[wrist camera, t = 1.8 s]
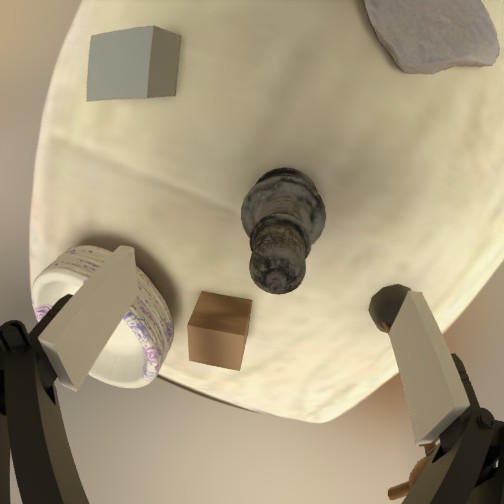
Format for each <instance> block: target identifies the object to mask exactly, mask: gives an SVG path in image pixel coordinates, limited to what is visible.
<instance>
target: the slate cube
mask: <svg viewBox="0 0 504 504" xmlns="http://www.w3.org/2000/svg"><path fill="white" fill-rule="evenodd" d="M180 42H181V36H178V35H176V34H173V33H171V32H168V31H166V30H163V29H161V28H158V27H156V26H147V27H139V28H132V29H125V30H119V31H113V32H108V33H102V34H97V35H93V36H91V42H90V51H89V63H88V77H87V101H98V100H112V99H132V98H153V97H165V96H175V94H176V82H177V70H178V60H179V51H180Z"/></svg>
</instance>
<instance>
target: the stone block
mask: <svg viewBox="0 0 504 504" xmlns="http://www.w3.org/2000/svg"><path fill="white" fill-rule="evenodd" d="M364 2H365V7H366V9H367V12H368V16H369V20H370V22H371V24H372V26H373V27H374V29H375V33H376V34H377V37H378V40H379V41H380V42H381V43H382V45H383V46H384V47H385V48H386V49H387V51H388V52H389V53H390V55H391V56H392V57H393V59H394V61H395V62H396V64H397V65H398V67H399V68H400V69H401V70H403V71H405V72H406V73H412V74H415V73H422V74H434V73H436V72H439V71H441V70H446V69H448V68H451V67H453V66H478V67H484V66H492V65H493V64H494V63H495V61H496V59H497V57H498V56H499V50H500V47H499V43H498V39H497V33H496V30H495V28H494V25H493V23H492V21H491V19H490V17H489V14H488V12H487V11H486V9H485V7H484V5H483V3H482V2H481V0H364Z"/></svg>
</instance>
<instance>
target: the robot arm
mask: <svg viewBox="0 0 504 504" xmlns="http://www.w3.org/2000/svg"><path fill="white" fill-rule="evenodd" d="M138 295H139V288H138V280H137V272H136V262H135V252H134V247H128V246H123V245H120V246H119V247H118V248H117V249H116V250H115V251H114V252H113V253H112V254H111V255H110V256H109V257H108V258H107V259H106V260H105V261H104V263H103V264H102V265H101V266H100V267H99V268H98V269H97V270H96V271H95V272H94V273H93V274H92V275H91V276H90V277H89V279H88V280H87V281H86V282H85V283H84V284H83V285H82V286H81V287H80V288H79V290H78V291H77V292H76V293H75V294H74V295H71V294H67V295H65V296H64V297H62V298H60V299H59V300H58V301H57V302H56V303H55V304H54V305H53V306H52V309H50V310H49V311H48V312H47V313H46V315H44V317H43V318H42V319H41V320H40V321H39V323H38V324H37V325H36V326H35V327H34V328H33V330H32V331H31V332H30V333H29V334H28V332H27V330H26V328H25V325H24V324H23V323H22V322H21V321H18V320H11V321H8V322H6V323H4V324H3V325H2V326H0V504H10V448H11V454H12V460H13V465H14V470H15V475H16V479H17V484H18V488H19V492H20V495H21V499H22V503H23V504H89V502H88V499H87V497H86V494H85V492H84V489H83V486H82V484H81V481H80V478H79V475H78V472H77V469H76V466H75V463H74V460H73V457H72V454H71V450H70V447H69V443H68V440H67V436H66V432H65V428H64V424H63V420H62V415H61V411H60V406H59V401H58V396H57V391H56V387H55V384H54V381H55V380H56V378H57V377H58V379H59V381H60V382H61V384H62V386H65V387H67V388H69V389H71V390H74V391H76V392H78V390H79V388H80V386H81V385H82V383H83V381H84V380H85V378H86V376H87V375H88V373H89V371H90V370H91V368H92V366H93V365H94V363H95V361H96V360H97V358H98V356H99V355H100V353H101V352H102V350H103V348H104V347H105V345H106V344H107V342H108V340H109V339H110V337H111V336H112V334H113V333H114V331H115V330H116V328H117V326H118V325H119V323H120V322H121V320H122V319H123V317H124V316H125V314H126V313H127V311H128V310H129V308H130V307H131V305H132V304H133V302H134V301H135V299H136V298H137V296H138ZM389 337H390V340H391V343H392V347H393V350H394V354H395V357H396V361H397V365H398V369H399V372H400V376H401V380H402V384H403V388H404V392H405V396H406V400H407V405H408V410H409V414H410V419H411V424H412V428H413V434H414V439H415V445H419V444H428V443H431V442H433V441H434V440H435V439H436V438H437V437H438V436H439V438H440V443H439V444H438V445H436V446H435V447H434V448H433V449H432V450H431V451H429V452H428V453H427V456H429V455H430V454H431V453H432V455H431V457H430V459H429V461H428V462H427V464H426V466H425V468H424V469H423V471H422V473H421V474H420V476H419V478H418V479H417V481H416V483H415V484H414V486H413V487H412V489H411V490H410V492H409V493H408V495H407V496H406V498H405V499H404V501H403V502H402V504H504V422H502V421H497V420H494V417H493V415H492V414H491V412H489V411H488V410H487V409H485V408H480V406H479V403H478V401H477V398H476V395H475V392H474V390H473V387H472V385H471V382H470V381H469V377H468V375H467V373H466V370H465V367H464V365H463V363H462V361H461V360H460V359H459V358H458V357H457V355H456V354H450V351H449V349H448V347H447V345H446V342H445V340H444V338H443V336H442V333H441V331H440V329H439V327H438V325H437V323H436V321H435V318H434V316H433V314H432V312H431V310H430V308H429V306H428V304H427V302H426V300H425V298H424V296H423V294H422V292H414V291H408V293H407V295H406V298H405V300H404V302H403V304H402V306H401V308H400V311H399V313H398V315H397V317H396V319H395V321H394V323H393V325H392V327H391V329H390V331H389ZM498 460H499V461H498ZM497 461H498V467H496V462H497Z"/></svg>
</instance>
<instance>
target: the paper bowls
mask: <svg viewBox="0 0 504 504" xmlns="http://www.w3.org/2000/svg"><path fill="white" fill-rule="evenodd" d="M112 253H113V252H111V251H109V250H107V249H104V248H100V247H97V246H92V245H79V246H76V247H72V248H70V249H68V250H67V251H65V252H64V253H63V254H61V255H60V256H59V257H58V258H57V259H56V260H55V261H54V262H53V263H51V264H50V265H49V266H48V267H47V268H45V269H44V270H43V271H42V273H41V274H39V276H37V277H36V279H35V281H34V283H33V287H32V304H33V309H34V312H35V315H36V317H37V320H38V321H40V320H41V319H42V318H43V317H44V315H46V313H47V312H48V311H49V310H50V309H52V306H53V305H54V304H55V303H56V302H57V301H58V300H59V299H60V298H62V297H64V296H65V295H67V294H71V295H74V294H75V293H76V292H77V291H78V290H79V288H80V287H81V286H82V285H83V284H84V283H85V282H86V281H87V280H88V279H89V277H90V276H91V275H92V274H93V273H94V272H95V271H96V270H97V269H98V268H99V267H100V266H101V265H102V264H103V263H104V261H105V260H106V259H107V258H108V257H109V256H110V255H111V254H112ZM136 272H137V280H138V288H139V295H138V296H137V298H136V299H135V301H134V302H133V304H132V305H131V307H130V308H129V310H128V311H127V313H126V314H125V316H124V317H123V319H122V320H121V322H120V323H119V325H118V326H117V328H116V330H115V331H114V333H113V334H112V336H111V337H110V339H109V340H108V342H107V344H106V345H105V347H104V348H103V350H102V352H101V353H100V355H99V356H98V358H97V360H96V361H95V363H94V365H93V366H92V368H91V370H90V371H89V373H88V374H89V375H90V376H92V377H94V378H96V379H98V380H100V381H103V382H105V383H108V384H111V385H114V386H118V387H124V388H139V387H143V386H145V385H147V384H149V383H150V382H151V381H153V379H155V378H156V376H157V375H158V372H159V370H160V368H161V366H162V363H163V362H164V360H165V358H166V356H167V353H168V351H169V349H170V347H171V344H172V341H173V336H174V326H173V321H172V317H171V314H170V311H169V309H168V306H167V304H166V302H165V300H164V298H163V297H162V295H161V294H160V293H159V291H158V290H157V288H156V287H155V286H154V285H153V283H152V282H151V280H150V279H149V278H148V277H147V276H146V274H145V273H144V272H143V271H142V270H140V269H139V268H138V267H137V266H136Z"/></svg>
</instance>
